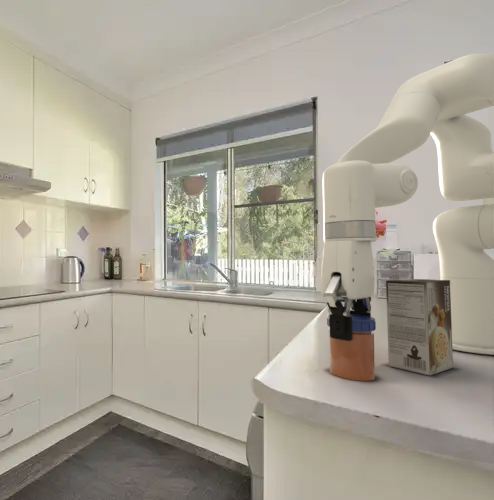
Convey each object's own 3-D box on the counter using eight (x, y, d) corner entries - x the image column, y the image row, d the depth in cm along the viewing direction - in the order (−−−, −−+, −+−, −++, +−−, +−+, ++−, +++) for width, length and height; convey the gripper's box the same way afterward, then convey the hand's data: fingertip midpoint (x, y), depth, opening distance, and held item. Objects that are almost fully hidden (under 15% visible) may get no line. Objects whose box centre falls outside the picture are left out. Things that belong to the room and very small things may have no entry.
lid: (346, 332, 55) (345, 320, 55) (319, 324, 61) (318, 313, 61) (386, 331, 55) (385, 319, 55) (354, 323, 62) (354, 313, 62)
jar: (327, 366, 62) (326, 317, 62) (370, 371, 59) (368, 319, 60) (332, 377, 56) (331, 323, 57) (379, 383, 54) (378, 326, 54)
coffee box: (410, 359, 66) (408, 278, 67) (454, 368, 61) (451, 280, 61) (387, 366, 62) (384, 279, 63) (431, 376, 57) (428, 281, 57)
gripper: (346, 236, 67) (348, 327, 66) (301, 233, 57) (303, 338, 56) (393, 234, 60) (396, 334, 60) (351, 229, 51) (353, 348, 50)
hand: (350, 335), depth 58 cm, fingers closed on lid, 6 cm apart
